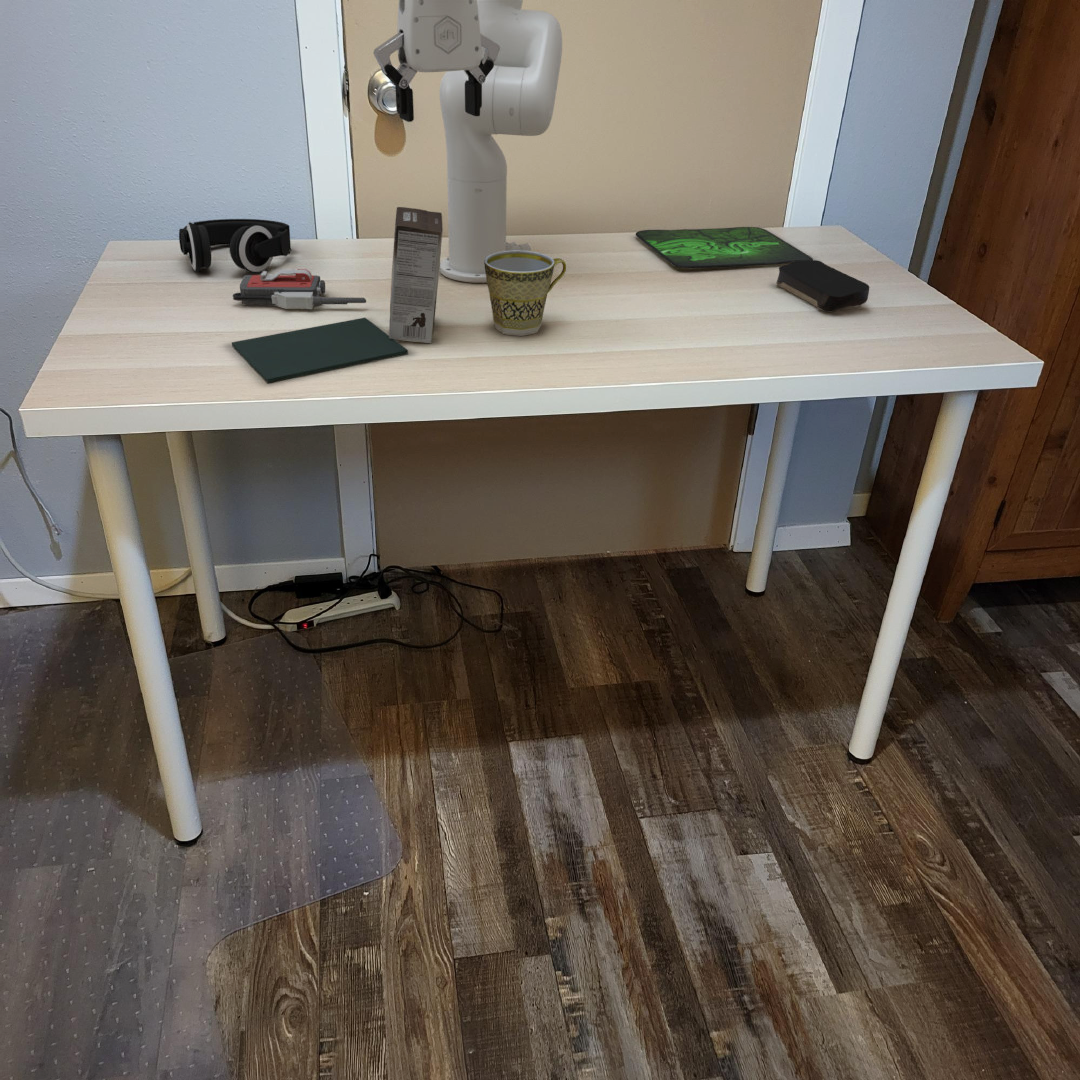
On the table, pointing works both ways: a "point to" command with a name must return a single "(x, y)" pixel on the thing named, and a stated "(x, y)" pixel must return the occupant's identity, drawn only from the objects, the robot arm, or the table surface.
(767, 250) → the mouse mat
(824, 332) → the table surface
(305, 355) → the mat
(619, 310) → the table surface
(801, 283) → the black flat block
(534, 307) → the ceramic cup
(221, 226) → the headphones
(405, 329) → the coffee box
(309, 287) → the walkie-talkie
